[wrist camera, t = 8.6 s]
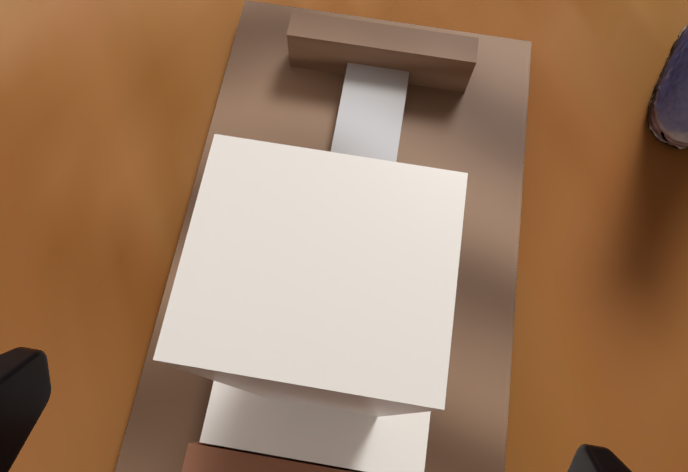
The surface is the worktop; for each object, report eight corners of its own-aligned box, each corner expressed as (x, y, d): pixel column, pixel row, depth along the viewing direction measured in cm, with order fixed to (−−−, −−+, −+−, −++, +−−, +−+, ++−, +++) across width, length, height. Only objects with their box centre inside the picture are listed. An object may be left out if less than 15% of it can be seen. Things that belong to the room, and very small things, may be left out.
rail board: (487, 590, 17) (516, 623, 14) (111, 521, 17) (70, 540, 15) (523, 57, 23) (548, 8, 21) (248, 16, 24) (237, -36, 21)
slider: (419, 478, 16) (572, 584, 6) (205, 441, 16) (-21, 476, 6) (440, 282, 18) (585, 92, 8) (249, 251, 18) (136, 26, 8)
